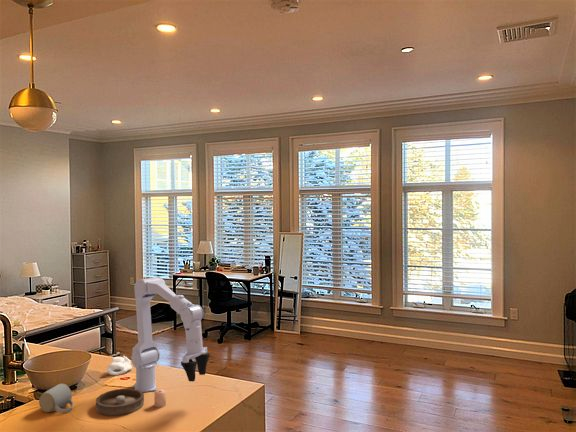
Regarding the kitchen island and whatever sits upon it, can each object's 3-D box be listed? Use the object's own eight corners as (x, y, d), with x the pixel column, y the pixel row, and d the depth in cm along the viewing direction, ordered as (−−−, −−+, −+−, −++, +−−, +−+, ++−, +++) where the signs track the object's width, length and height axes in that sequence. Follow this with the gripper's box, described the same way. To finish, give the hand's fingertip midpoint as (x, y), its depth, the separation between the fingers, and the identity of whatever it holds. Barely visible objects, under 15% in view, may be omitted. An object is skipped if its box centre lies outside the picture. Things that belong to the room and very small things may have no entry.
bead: (153, 403, 162) (154, 390, 162) (165, 402, 164) (165, 388, 164) (154, 408, 158) (154, 394, 158) (166, 406, 160) (166, 392, 160)
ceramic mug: (36, 412, 154) (37, 390, 154) (55, 402, 162) (56, 381, 162) (61, 417, 151) (61, 394, 151) (79, 407, 159) (79, 385, 159)
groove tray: (96, 400, 164) (97, 391, 164) (142, 394, 170) (142, 386, 170) (95, 419, 150) (95, 409, 150) (144, 412, 155) (144, 402, 155)
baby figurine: (107, 378, 187) (101, 360, 190) (119, 379, 198) (113, 362, 201) (126, 369, 188) (120, 350, 191) (137, 370, 199) (131, 353, 202)
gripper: (193, 343, 153) (197, 384, 152) (213, 334, 167) (216, 371, 166) (176, 344, 155) (179, 384, 154) (196, 335, 169) (199, 371, 168)
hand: (197, 377), depth 160 cm, fingers open, 7 cm apart
